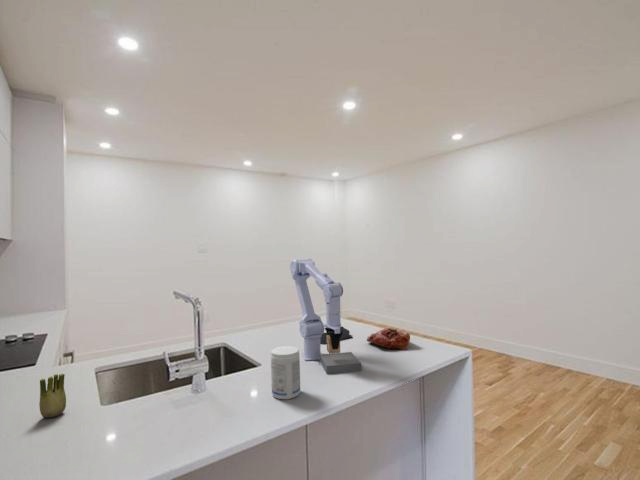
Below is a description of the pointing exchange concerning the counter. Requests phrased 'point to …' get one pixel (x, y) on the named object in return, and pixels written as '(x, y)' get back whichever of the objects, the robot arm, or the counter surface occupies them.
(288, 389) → the supplement tub
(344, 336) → the dark slate chunk
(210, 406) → the counter surface
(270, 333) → the counter surface
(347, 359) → the slate base
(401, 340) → the meat
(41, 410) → the fennel bulb
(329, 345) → the oak block
